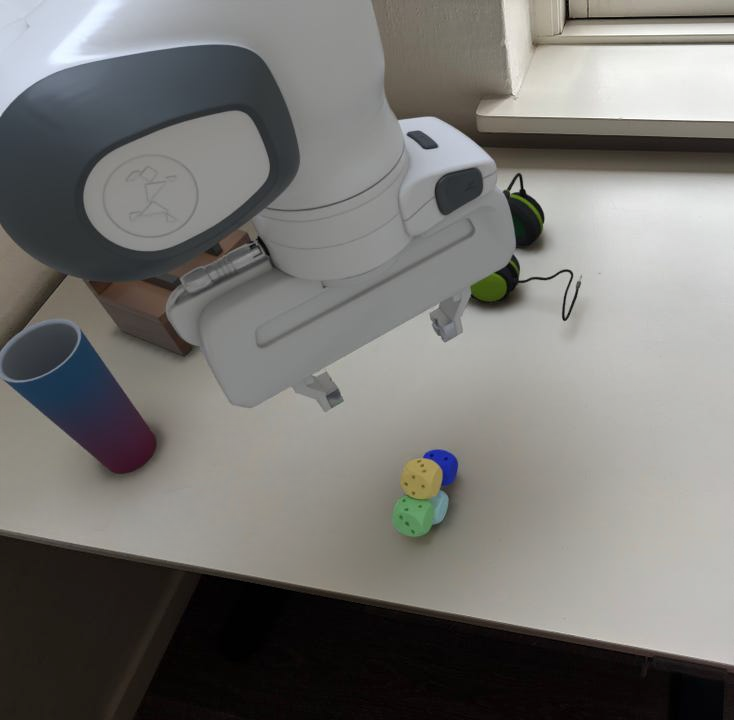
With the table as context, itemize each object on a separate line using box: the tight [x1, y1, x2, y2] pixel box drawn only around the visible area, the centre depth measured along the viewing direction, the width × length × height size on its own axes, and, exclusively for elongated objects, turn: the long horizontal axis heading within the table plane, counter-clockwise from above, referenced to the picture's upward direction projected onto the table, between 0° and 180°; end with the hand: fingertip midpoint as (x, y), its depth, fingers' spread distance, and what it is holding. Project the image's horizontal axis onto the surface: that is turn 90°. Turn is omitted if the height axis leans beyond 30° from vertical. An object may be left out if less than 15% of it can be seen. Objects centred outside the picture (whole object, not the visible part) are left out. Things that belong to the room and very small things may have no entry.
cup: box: [0, 318, 157, 474], centre depth 63 cm, size 7×7×15 cm
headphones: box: [470, 172, 583, 322], centre depth 75 cm, size 16×10×20 cm
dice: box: [391, 448, 459, 538], centre depth 58 cm, size 8×3×6 cm, turn 160°
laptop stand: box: [81, 228, 252, 357], centre depth 79 cm, size 14×10×8 cm
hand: (391, 366), depth 49 cm, fingers open, 8 cm apart
